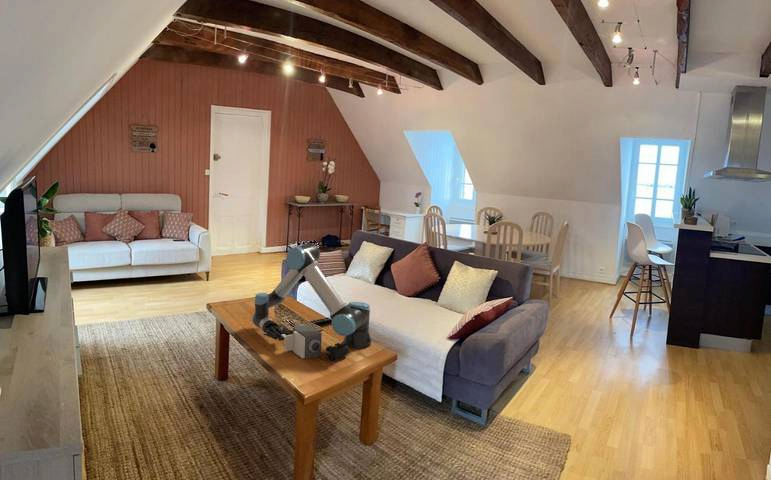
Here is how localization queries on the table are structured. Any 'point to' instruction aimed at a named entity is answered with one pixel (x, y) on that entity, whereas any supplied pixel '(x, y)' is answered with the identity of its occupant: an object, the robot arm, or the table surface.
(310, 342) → the camera housing
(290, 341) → the side door
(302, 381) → the table surface
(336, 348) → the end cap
